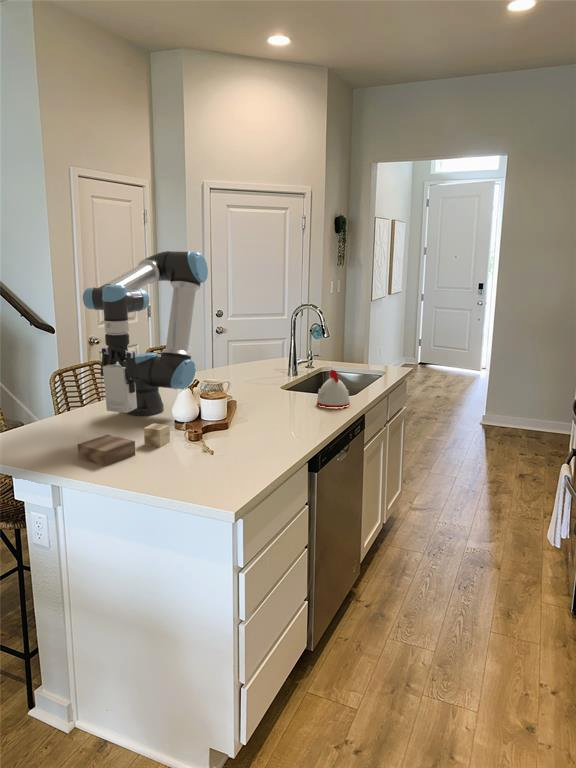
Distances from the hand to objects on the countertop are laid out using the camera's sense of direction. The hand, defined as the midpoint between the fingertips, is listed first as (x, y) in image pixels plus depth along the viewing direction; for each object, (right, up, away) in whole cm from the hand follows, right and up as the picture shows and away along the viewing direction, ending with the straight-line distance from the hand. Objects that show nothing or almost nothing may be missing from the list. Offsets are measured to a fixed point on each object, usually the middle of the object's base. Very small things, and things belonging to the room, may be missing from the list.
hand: (120, 399), depth 197 cm
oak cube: (+13, -15, -1) cm, 19 cm away
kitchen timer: (+75, -4, +54) cm, 93 cm away
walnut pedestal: (0, -18, -15) cm, 23 cm away
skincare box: (0, -4, +1) cm, 4 cm away
